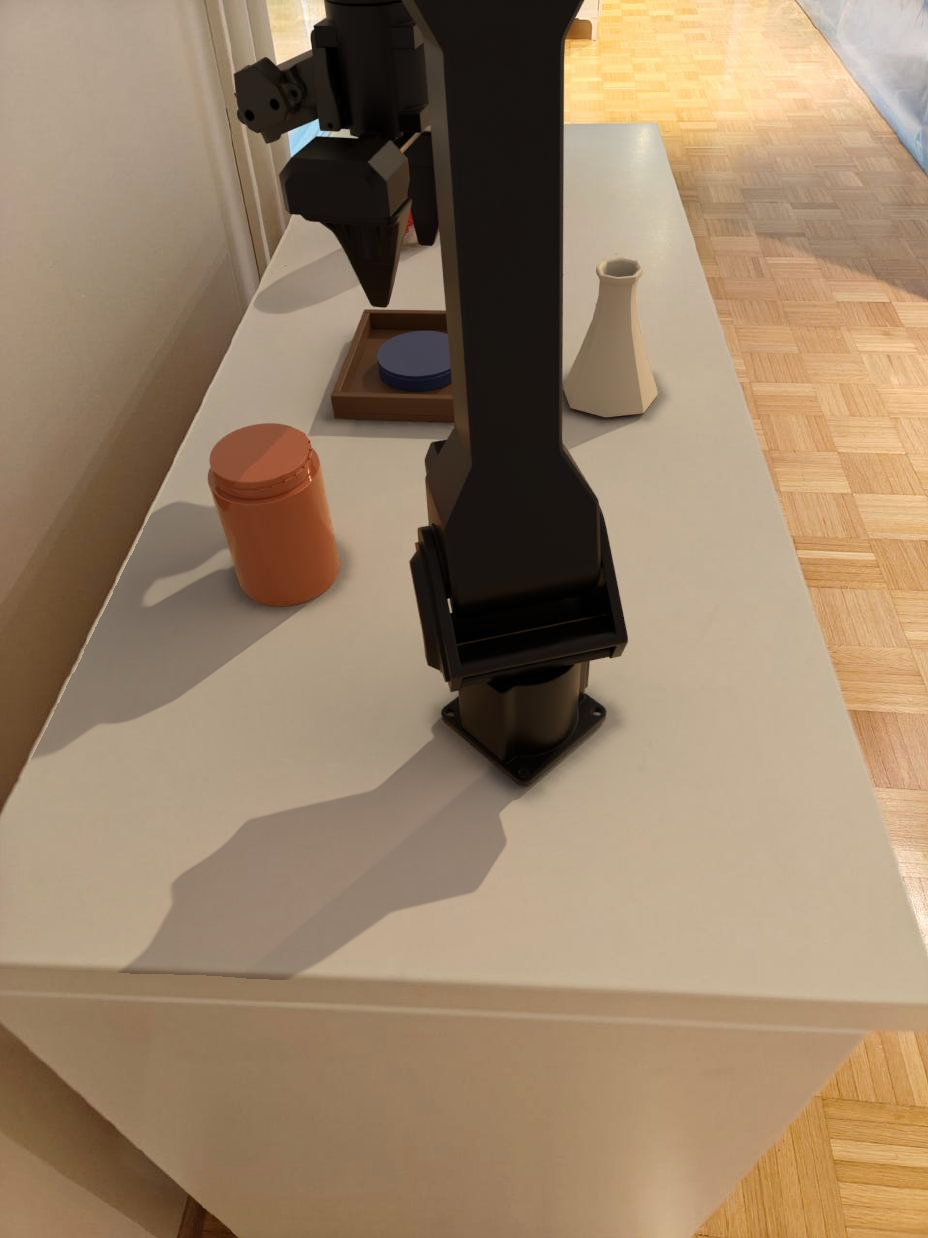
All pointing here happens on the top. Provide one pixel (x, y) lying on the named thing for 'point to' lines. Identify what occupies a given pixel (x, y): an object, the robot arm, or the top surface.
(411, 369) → the lid
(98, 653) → the top surface
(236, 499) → the jar
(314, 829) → the top surface
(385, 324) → the tray
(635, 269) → the flask
